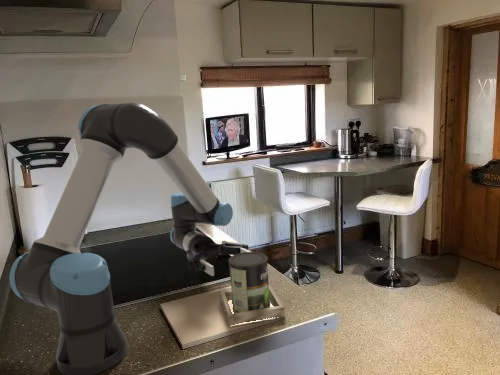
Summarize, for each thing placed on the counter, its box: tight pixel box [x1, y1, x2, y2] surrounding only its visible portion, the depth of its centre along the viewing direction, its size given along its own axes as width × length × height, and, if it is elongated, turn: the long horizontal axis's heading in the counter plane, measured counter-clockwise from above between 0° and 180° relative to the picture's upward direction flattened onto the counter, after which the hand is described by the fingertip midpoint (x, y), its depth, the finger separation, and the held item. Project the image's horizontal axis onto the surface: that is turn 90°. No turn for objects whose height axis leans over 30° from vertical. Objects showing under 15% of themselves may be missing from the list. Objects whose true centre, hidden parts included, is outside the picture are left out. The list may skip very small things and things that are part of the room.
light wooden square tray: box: [219, 283, 286, 327], centre depth 114 cm, size 14×14×3 cm
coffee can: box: [228, 251, 270, 313], centre depth 113 cm, size 10×10×14 cm
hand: (233, 264), depth 118 cm, fingers open, 13 cm apart
